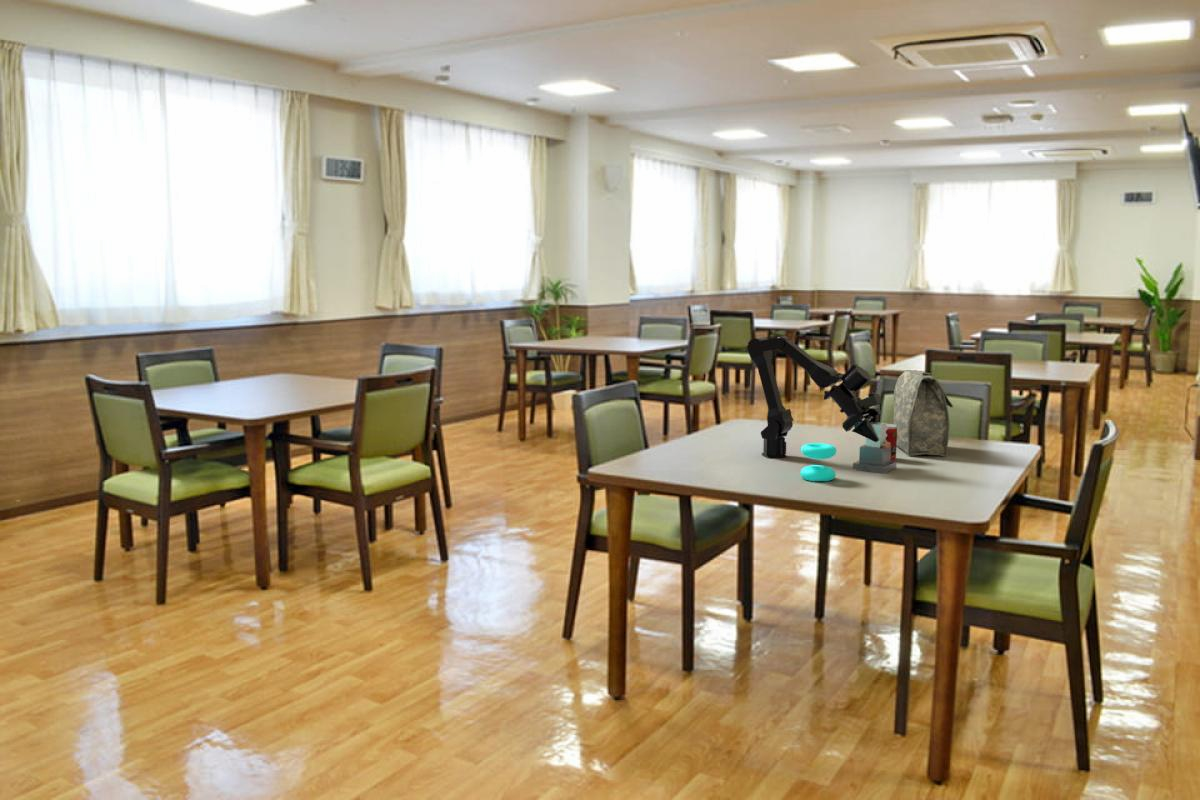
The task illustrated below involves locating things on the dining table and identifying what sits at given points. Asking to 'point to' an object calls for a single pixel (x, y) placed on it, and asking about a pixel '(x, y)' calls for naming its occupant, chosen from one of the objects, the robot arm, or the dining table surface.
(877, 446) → the column
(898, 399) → the bag
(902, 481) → the dining table surface
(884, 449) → the stand base
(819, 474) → the donuts
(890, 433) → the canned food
